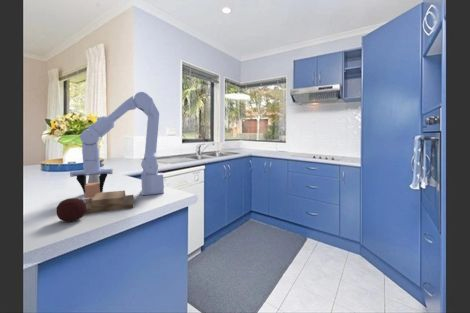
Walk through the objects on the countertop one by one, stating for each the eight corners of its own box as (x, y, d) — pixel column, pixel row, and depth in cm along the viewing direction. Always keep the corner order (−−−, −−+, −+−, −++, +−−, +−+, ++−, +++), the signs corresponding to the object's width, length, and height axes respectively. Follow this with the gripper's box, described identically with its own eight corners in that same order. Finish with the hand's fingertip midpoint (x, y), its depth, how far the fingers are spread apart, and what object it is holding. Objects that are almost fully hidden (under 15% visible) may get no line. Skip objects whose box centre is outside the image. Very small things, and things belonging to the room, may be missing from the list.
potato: (62, 217, 72) (61, 196, 71) (90, 214, 74) (89, 194, 74) (52, 226, 65) (50, 203, 64) (82, 223, 67) (81, 200, 67)
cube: (101, 193, 95) (100, 182, 94) (100, 196, 91) (99, 184, 90) (87, 194, 93) (87, 183, 92) (85, 198, 88) (84, 186, 88)
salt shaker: (95, 194, 97) (93, 165, 96) (84, 194, 98) (82, 165, 97) (105, 191, 103) (103, 163, 101) (94, 190, 104) (93, 163, 103)
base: (133, 198, 93) (133, 188, 92) (133, 208, 81) (132, 197, 81) (88, 202, 86) (87, 192, 86) (80, 214, 75) (80, 202, 74)
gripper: (112, 157, 97) (114, 188, 98) (72, 159, 91) (74, 191, 92) (111, 159, 90) (112, 192, 92) (67, 161, 84) (70, 196, 86)
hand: (93, 192), depth 92 cm, fingers closed on cube, 5 cm apart
